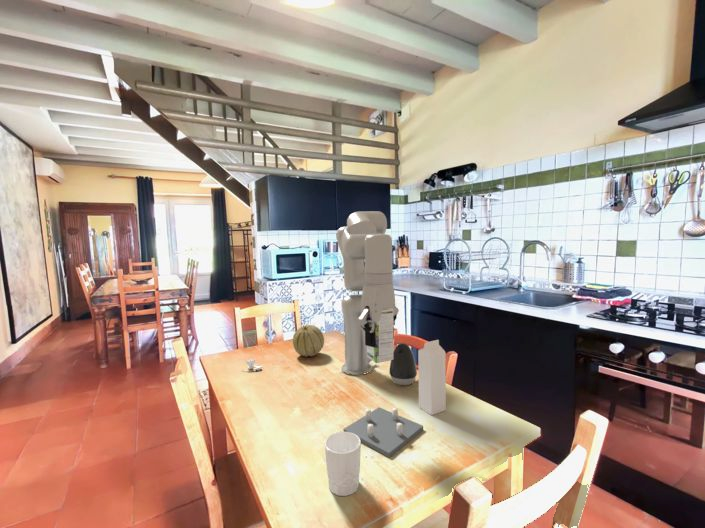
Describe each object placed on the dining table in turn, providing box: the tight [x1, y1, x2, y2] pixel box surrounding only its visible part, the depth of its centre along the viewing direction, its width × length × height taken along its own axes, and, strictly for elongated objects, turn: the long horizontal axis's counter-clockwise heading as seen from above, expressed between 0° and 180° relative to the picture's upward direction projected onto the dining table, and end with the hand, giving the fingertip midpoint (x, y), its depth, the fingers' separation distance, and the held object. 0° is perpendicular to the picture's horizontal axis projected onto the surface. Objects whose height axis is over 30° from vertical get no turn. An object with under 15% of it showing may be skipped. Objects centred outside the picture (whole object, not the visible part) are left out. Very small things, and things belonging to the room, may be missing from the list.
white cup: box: [324, 431, 362, 497], centre depth 73 cm, size 8×8×10 cm
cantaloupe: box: [292, 324, 325, 358], centre depth 156 cm, size 15×15×15 cm
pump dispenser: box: [389, 342, 418, 386], centre depth 124 cm, size 10×10×15 cm
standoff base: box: [343, 406, 424, 458], centre depth 93 cm, size 16×16×4 cm
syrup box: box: [367, 308, 394, 364], centre depth 91 cm, size 6×6×14 cm
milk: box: [417, 339, 447, 416], centre depth 104 cm, size 6×6×22 cm
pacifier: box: [246, 358, 263, 371], centre depth 142 cm, size 9×8×4 cm
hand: (379, 342), depth 92 cm, fingers closed on syrup box, 7 cm apart
